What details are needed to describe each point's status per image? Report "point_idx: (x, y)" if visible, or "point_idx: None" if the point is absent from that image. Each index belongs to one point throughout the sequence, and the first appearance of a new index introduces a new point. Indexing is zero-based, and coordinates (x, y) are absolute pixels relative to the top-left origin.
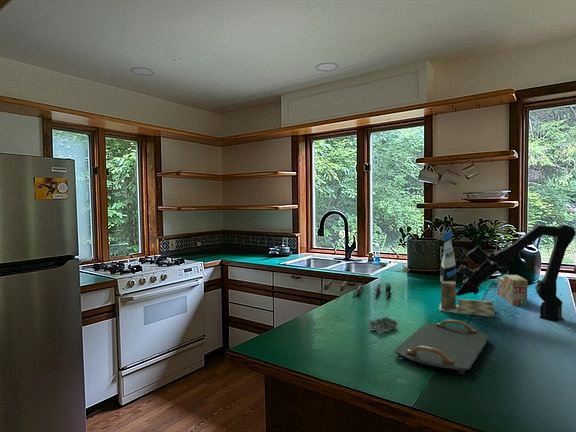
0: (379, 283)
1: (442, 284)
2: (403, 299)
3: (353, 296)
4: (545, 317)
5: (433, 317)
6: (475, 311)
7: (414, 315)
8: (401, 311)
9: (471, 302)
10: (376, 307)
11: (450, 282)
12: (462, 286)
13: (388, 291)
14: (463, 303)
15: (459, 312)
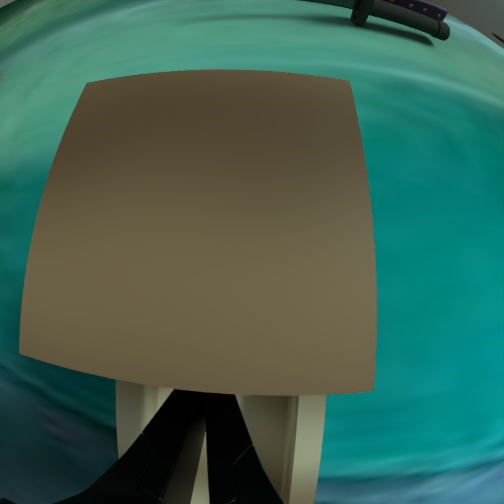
0: (441, 7)
1: (84, 109)
2: (358, 59)
3: None
4: None
5: (39, 197)
6: None
7: (70, 115)
8: (129, 63)
9: (288, 478)
10: (181, 4)
11: (219, 244)
12: (119, 488)
13: (361, 2)
14: (291, 415)
15: None
